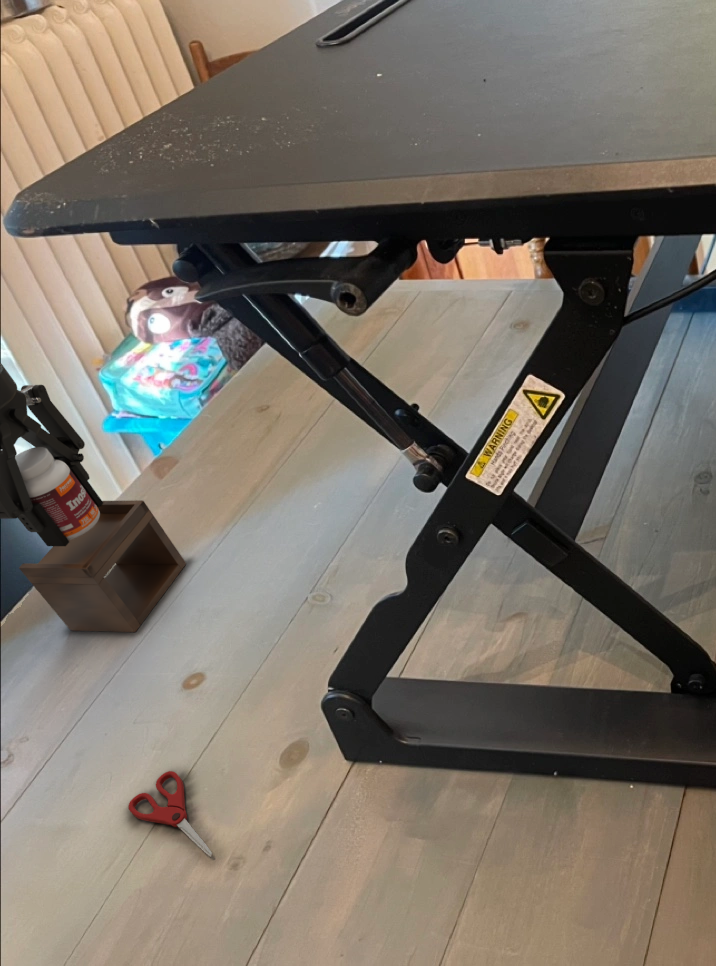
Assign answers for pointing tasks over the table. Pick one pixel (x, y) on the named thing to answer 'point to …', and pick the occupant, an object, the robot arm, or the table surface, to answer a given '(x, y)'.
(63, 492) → the pill bottle
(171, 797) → the scissors
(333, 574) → the table surface
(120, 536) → the shelf
